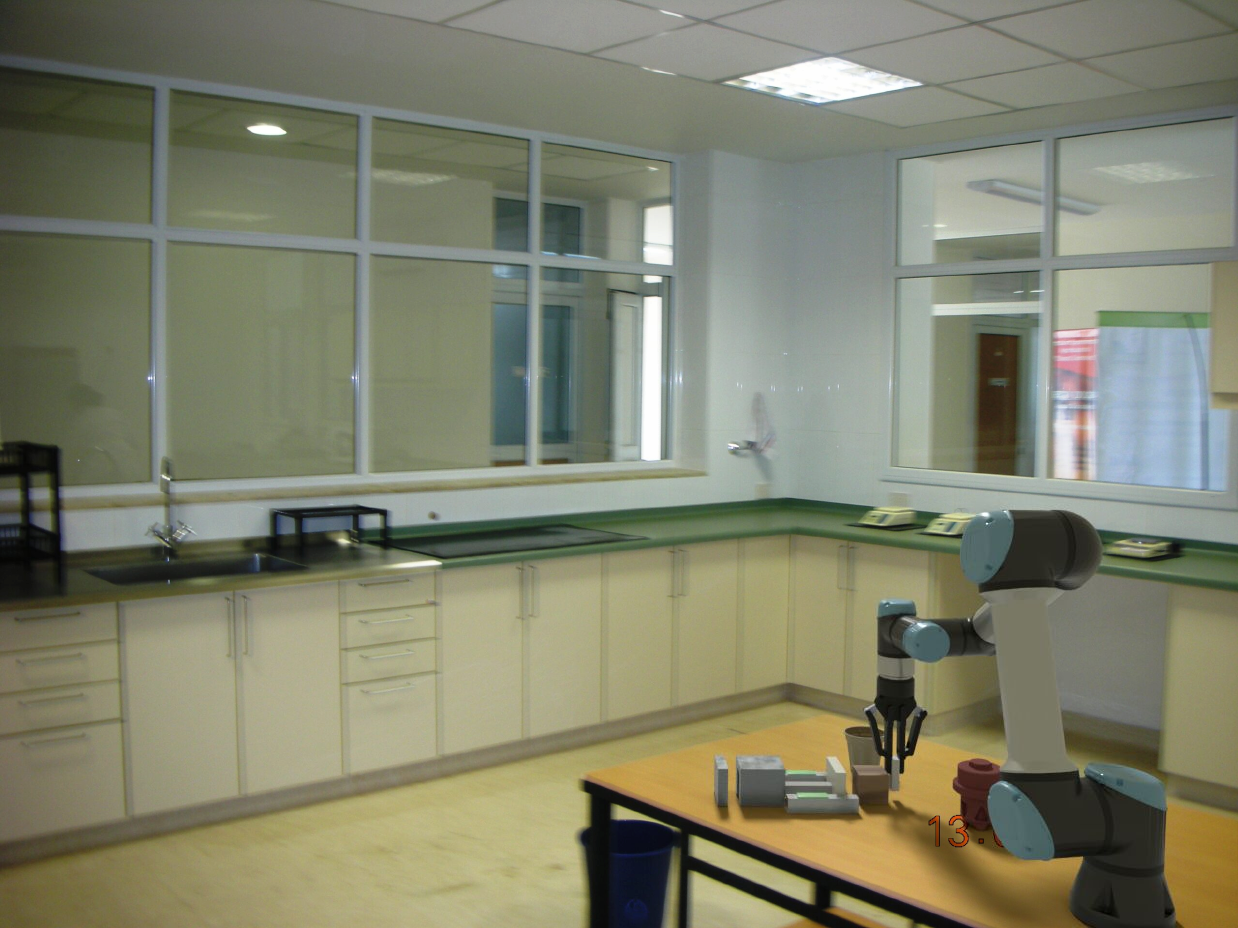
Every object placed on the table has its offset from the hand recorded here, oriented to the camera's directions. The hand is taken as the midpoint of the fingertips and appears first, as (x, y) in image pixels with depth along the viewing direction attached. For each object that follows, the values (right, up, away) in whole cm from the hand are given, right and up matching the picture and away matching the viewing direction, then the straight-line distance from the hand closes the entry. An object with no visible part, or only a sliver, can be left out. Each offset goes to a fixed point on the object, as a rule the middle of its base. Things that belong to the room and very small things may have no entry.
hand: (893, 788), depth 218 cm
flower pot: (-2, -2, +18) cm, 18 cm away
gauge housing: (-23, -2, 0) cm, 23 cm away
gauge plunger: (-18, -2, 0) cm, 18 cm away
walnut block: (-5, -2, 0) cm, 5 cm away
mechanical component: (+13, -3, -13) cm, 19 cm away
